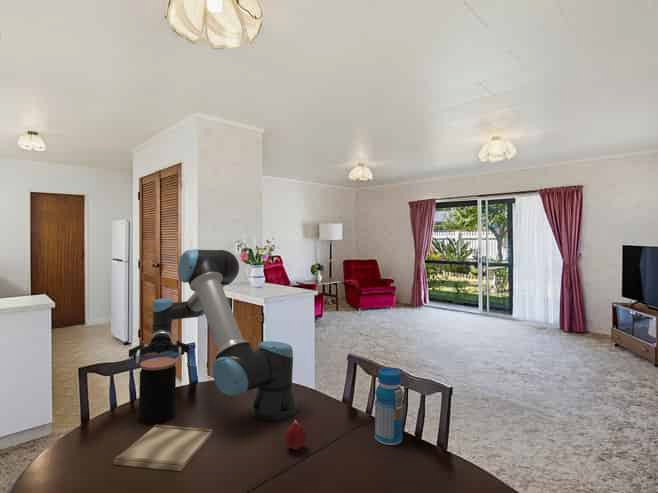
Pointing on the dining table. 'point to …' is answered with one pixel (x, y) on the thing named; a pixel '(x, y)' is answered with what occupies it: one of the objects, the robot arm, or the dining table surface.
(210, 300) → the robot arm
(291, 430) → the onion
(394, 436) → the beverage bottle
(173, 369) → the coffee jar
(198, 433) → the board
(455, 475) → the dining table surface
